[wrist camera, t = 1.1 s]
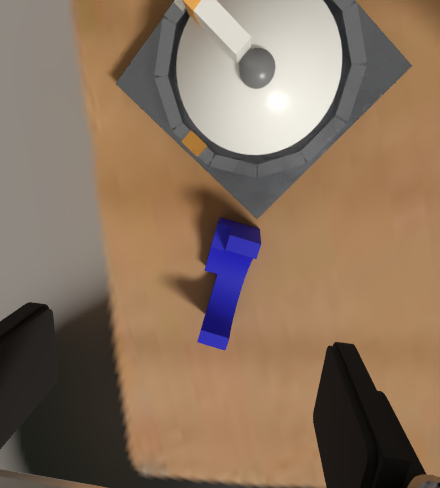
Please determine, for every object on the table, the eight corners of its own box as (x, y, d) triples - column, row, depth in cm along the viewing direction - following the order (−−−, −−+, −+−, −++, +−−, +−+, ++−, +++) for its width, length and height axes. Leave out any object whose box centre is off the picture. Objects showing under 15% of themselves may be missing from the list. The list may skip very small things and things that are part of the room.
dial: (370, 67, 28) (394, 51, 23) (257, 184, 32) (257, 191, 27) (255, -61, 26) (256, -106, 21) (149, 79, 30) (131, 67, 25)
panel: (256, -99, 27) (256, -134, 24) (404, 69, 29) (423, 59, 26) (121, 86, 32) (106, 79, 29) (256, 216, 34) (257, 223, 31)
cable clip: (220, 216, 35) (214, 230, 29) (259, 228, 35) (261, 244, 29) (193, 309, 39) (183, 337, 33) (229, 320, 39) (225, 350, 33)
